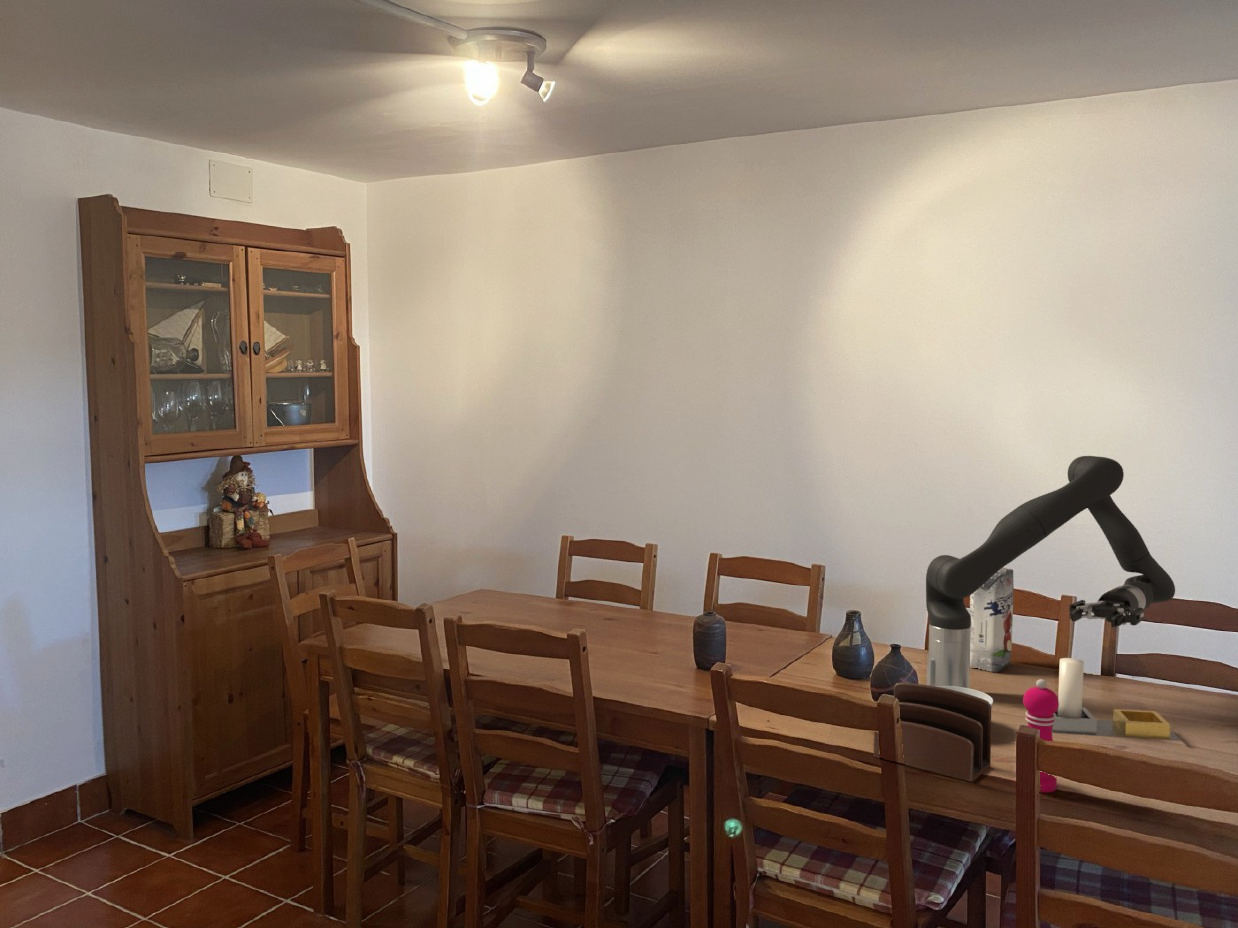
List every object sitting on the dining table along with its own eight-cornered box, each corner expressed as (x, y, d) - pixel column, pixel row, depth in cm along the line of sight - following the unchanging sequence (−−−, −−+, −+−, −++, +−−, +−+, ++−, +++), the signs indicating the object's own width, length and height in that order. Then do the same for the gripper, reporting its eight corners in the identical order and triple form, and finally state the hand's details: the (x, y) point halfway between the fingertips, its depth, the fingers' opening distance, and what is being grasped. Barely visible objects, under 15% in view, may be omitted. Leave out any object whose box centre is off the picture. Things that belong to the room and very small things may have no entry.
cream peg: (1060, 728, 206) (1062, 663, 205) (1055, 721, 211) (1057, 657, 209) (1083, 729, 205) (1086, 664, 204) (1077, 722, 210) (1080, 658, 209)
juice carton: (964, 668, 253) (967, 565, 251) (979, 659, 261) (982, 559, 259) (999, 674, 248) (1002, 569, 245) (1014, 665, 256) (1017, 563, 253)
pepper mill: (1009, 778, 183) (1012, 674, 182) (1046, 777, 184) (1050, 672, 182) (1028, 794, 176) (1032, 686, 174) (1067, 793, 177) (1071, 684, 175)
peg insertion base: (1044, 737, 204) (1045, 718, 204) (1033, 721, 214) (1034, 703, 214) (1180, 745, 199) (1181, 726, 199) (1162, 728, 209) (1163, 710, 209)
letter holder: (894, 743, 202) (895, 676, 201) (991, 767, 189) (993, 696, 188) (872, 757, 194) (873, 688, 193) (972, 784, 181) (974, 709, 180)
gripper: (1089, 583, 229) (1059, 598, 219) (1155, 591, 219) (1126, 607, 208) (1090, 615, 230) (1060, 631, 219) (1155, 624, 220) (1127, 642, 209)
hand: (1092, 619), depth 214 cm, fingers open, 8 cm apart
